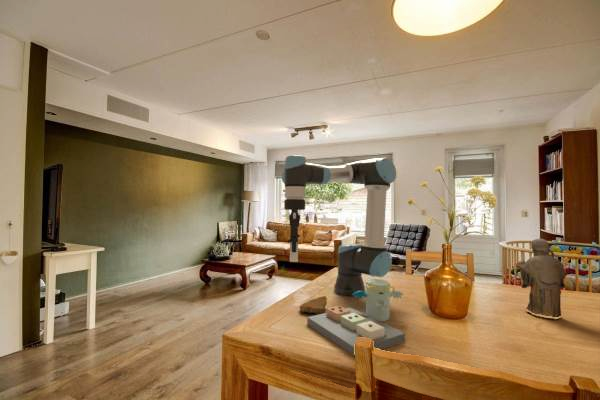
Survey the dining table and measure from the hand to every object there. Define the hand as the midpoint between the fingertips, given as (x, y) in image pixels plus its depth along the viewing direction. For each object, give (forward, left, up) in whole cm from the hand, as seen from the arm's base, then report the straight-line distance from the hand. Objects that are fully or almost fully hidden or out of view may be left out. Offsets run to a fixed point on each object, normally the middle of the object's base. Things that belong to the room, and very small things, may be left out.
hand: (294, 258), depth 104 cm
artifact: (-13, -7, -24) cm, 28 cm away
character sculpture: (-31, +11, -24) cm, 41 cm away
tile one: (-14, +24, -21) cm, 35 cm away
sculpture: (-91, +40, -24) cm, 102 cm away
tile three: (-14, +8, -21) cm, 27 cm away
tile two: (-14, +16, -21) cm, 30 cm away
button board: (-14, +16, -23) cm, 32 cm away
